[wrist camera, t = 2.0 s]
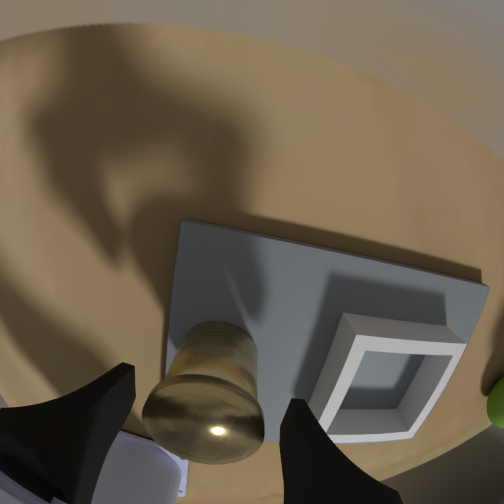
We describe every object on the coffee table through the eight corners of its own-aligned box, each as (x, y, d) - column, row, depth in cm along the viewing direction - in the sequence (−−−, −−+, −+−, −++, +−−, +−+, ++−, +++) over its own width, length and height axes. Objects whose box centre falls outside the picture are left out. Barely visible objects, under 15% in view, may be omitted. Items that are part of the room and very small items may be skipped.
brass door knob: (253, 393, 16) (251, 471, 10) (173, 377, 16) (144, 449, 10) (272, 325, 15) (278, 400, 9) (179, 306, 15) (140, 372, 9)
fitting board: (407, 431, 19) (421, 458, 15) (167, 412, 18) (154, 445, 15) (482, 282, 15) (512, 300, 12) (186, 219, 15) (166, 229, 12)
